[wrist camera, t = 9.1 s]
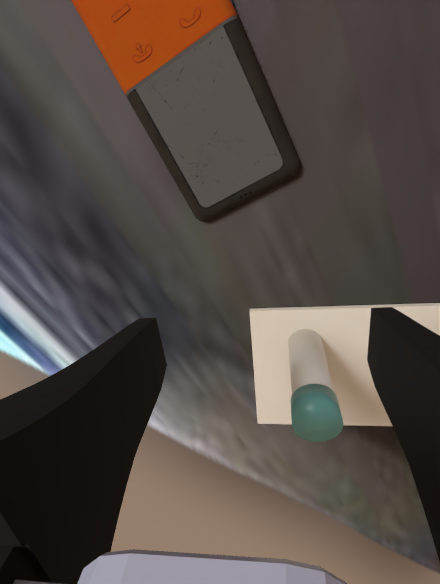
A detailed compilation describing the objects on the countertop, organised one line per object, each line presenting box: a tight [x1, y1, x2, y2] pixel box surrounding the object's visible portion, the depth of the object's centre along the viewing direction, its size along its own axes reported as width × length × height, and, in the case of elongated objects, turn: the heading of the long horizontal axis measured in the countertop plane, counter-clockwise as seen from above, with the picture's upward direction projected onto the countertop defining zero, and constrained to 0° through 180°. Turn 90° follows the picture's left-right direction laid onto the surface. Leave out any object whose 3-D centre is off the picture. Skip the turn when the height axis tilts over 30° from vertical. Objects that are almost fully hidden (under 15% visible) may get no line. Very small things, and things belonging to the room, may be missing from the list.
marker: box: [288, 329, 343, 442], centre depth 20 cm, size 2×2×7 cm
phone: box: [72, 0, 300, 221], centre depth 17 cm, size 6×1×15 cm
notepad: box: [250, 303, 440, 426], centre depth 24 cm, size 14×10×1 cm
